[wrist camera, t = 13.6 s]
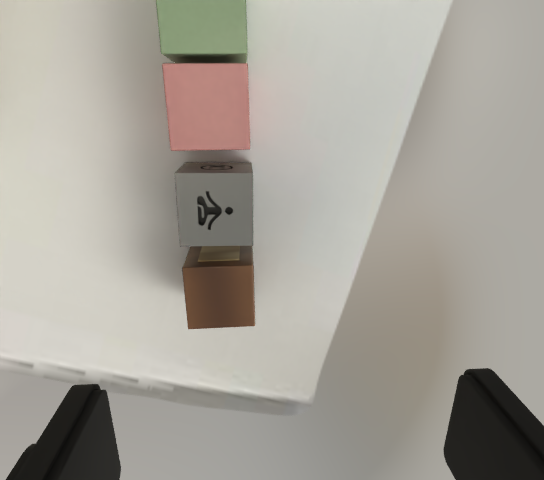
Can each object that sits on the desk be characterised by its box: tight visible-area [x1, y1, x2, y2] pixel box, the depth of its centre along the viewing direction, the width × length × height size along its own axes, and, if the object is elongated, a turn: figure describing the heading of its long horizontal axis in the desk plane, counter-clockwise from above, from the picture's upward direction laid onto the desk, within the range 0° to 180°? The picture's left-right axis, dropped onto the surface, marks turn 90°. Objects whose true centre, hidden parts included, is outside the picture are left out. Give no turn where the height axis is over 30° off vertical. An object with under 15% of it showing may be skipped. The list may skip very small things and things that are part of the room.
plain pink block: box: [162, 63, 250, 151], centre depth 25 cm, size 5×5×5 cm
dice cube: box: [175, 162, 253, 246], centre depth 27 cm, size 5×5×5 cm
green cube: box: [156, 0, 247, 63], centre depth 23 cm, size 5×5×5 cm
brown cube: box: [182, 246, 255, 329], centre depth 29 cm, size 5×5×5 cm
